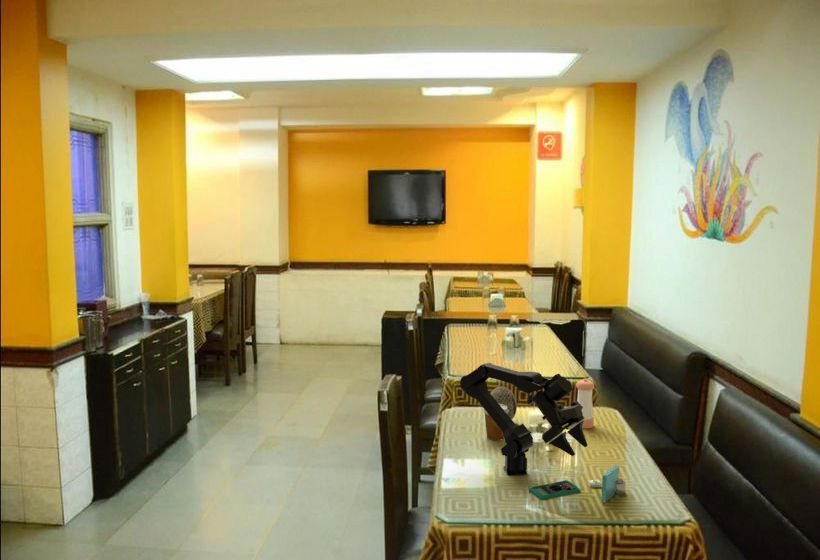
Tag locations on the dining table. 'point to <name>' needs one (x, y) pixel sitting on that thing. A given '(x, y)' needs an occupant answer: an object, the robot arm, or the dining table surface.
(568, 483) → the digital multimeter
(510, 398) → the decorative egg
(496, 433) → the disposable coffee cup
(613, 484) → the light blue tilted panel
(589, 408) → the pepper shaker
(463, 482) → the dining table surface
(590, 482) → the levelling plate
